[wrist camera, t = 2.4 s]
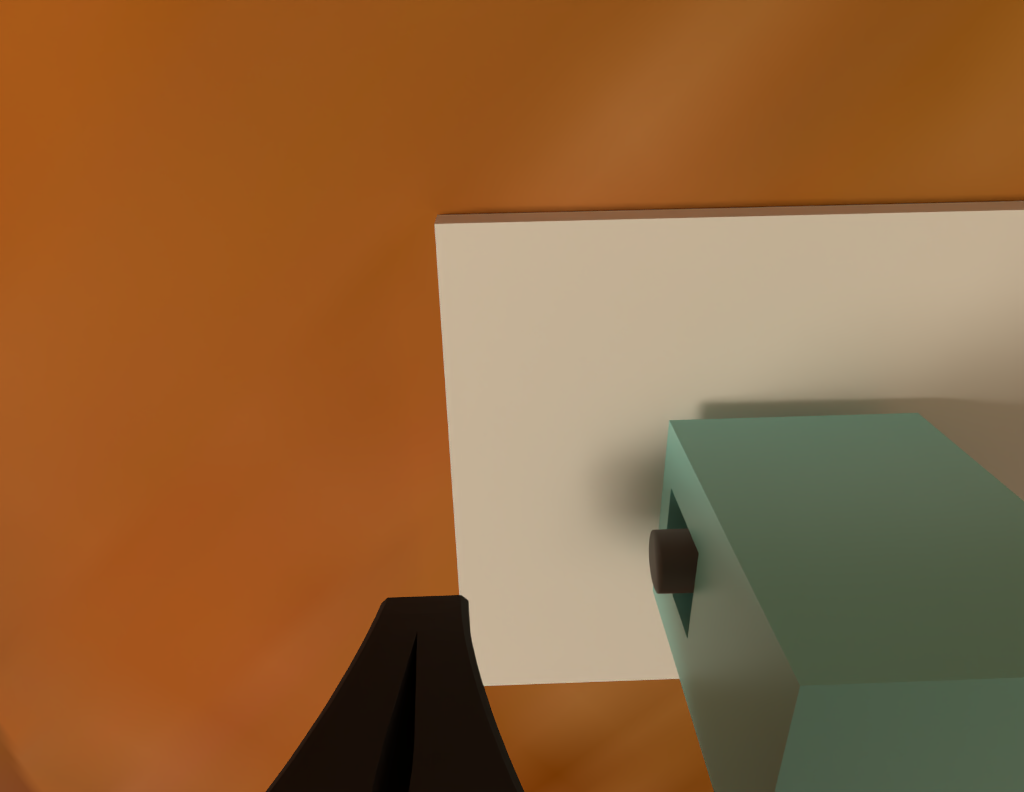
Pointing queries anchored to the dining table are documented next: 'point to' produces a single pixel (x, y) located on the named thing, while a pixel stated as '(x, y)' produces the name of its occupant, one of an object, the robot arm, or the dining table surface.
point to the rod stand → (688, 387)
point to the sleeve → (847, 606)
